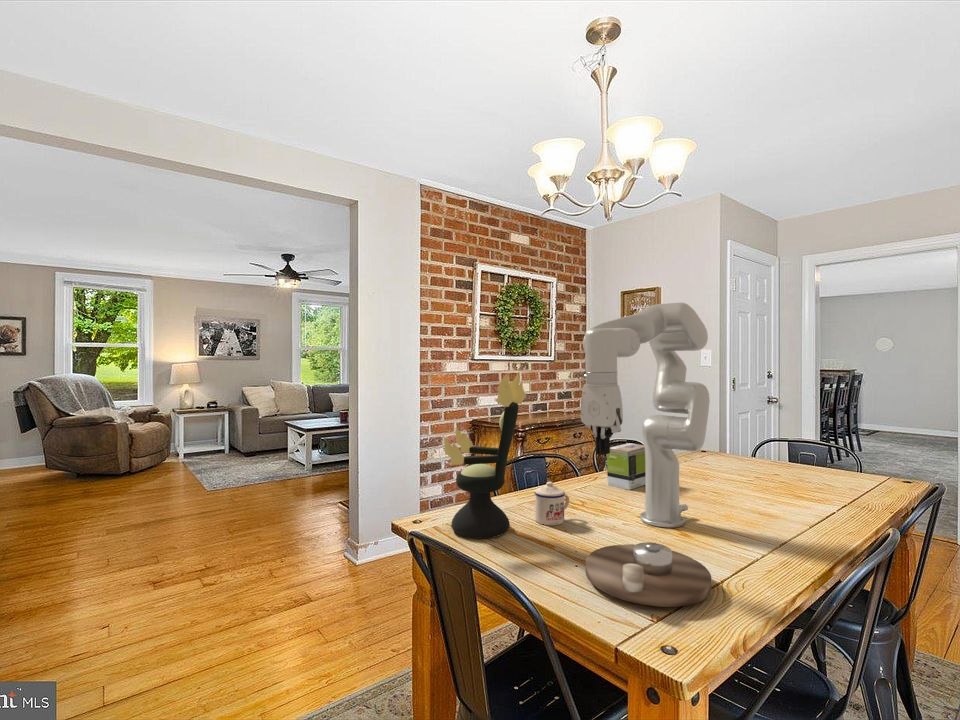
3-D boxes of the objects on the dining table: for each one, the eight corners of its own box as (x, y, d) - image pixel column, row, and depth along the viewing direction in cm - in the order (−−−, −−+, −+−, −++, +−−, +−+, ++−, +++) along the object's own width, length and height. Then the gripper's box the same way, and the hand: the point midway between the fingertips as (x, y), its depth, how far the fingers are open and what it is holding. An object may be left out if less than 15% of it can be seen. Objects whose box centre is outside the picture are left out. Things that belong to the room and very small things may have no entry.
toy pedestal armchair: (454, 517, 151) (453, 371, 151) (526, 519, 149) (526, 371, 148) (443, 540, 132) (443, 373, 132) (526, 543, 130) (525, 373, 129)
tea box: (629, 478, 197) (628, 442, 197) (651, 483, 189) (651, 445, 189) (606, 485, 187) (606, 446, 187) (629, 490, 180) (629, 450, 179)
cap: (631, 559, 112) (631, 537, 112) (668, 561, 110) (668, 539, 110) (636, 574, 104) (636, 551, 104) (675, 577, 103) (675, 553, 102)
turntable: (605, 544, 125) (605, 521, 125) (717, 567, 112) (717, 541, 112) (568, 585, 103) (568, 557, 103) (702, 620, 90) (702, 587, 89)
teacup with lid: (547, 528, 141) (547, 488, 141) (528, 519, 149) (528, 481, 149) (578, 520, 147) (578, 482, 147) (558, 512, 155) (558, 475, 155)
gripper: (568, 378, 124) (570, 450, 124) (614, 381, 111) (615, 461, 112) (590, 376, 128) (591, 446, 129) (636, 379, 115) (637, 456, 116)
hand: (603, 453), depth 120 cm, fingers closed
